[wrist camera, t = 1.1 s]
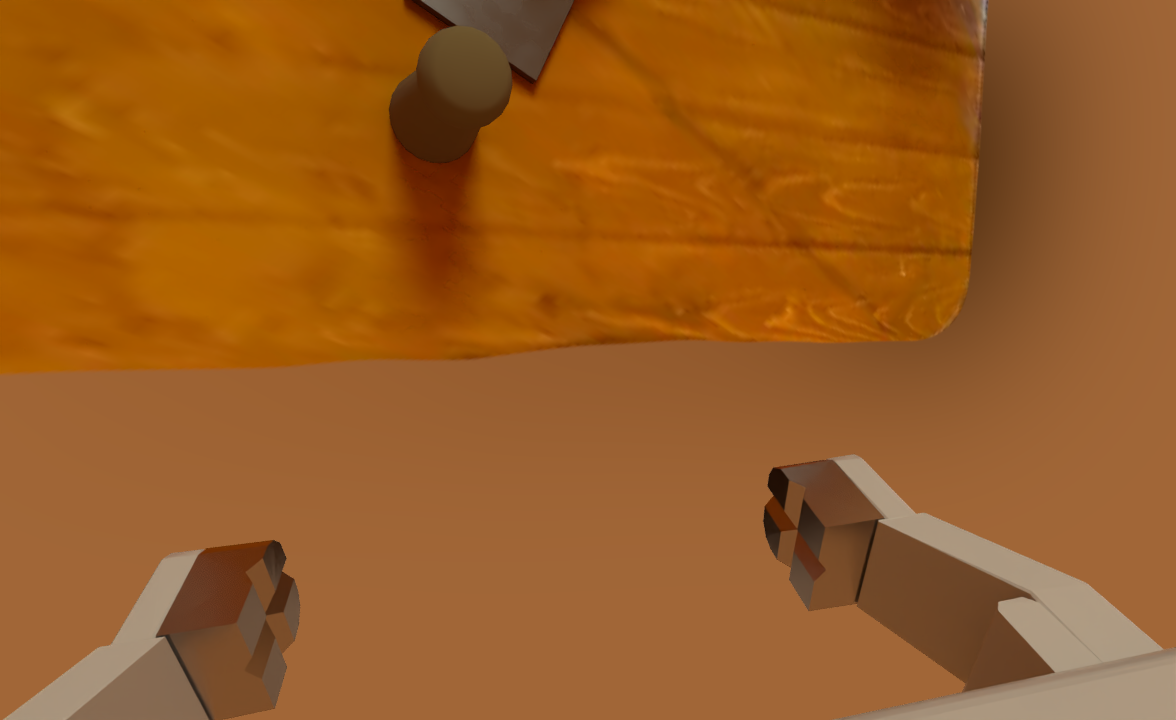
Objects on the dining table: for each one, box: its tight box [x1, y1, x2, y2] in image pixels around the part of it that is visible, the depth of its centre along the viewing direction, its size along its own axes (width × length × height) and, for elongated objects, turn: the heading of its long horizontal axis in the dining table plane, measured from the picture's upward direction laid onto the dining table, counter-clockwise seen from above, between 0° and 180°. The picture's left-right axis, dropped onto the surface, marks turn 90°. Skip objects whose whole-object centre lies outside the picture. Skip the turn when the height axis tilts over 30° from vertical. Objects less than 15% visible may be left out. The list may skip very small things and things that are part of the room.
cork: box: [389, 25, 512, 163], centre depth 37 cm, size 6×6×11 cm
